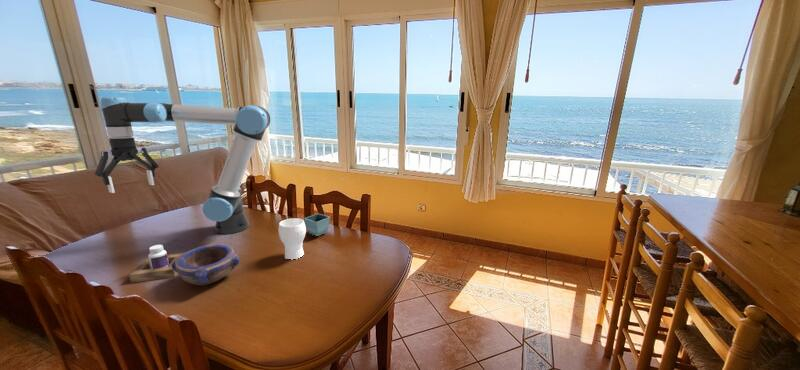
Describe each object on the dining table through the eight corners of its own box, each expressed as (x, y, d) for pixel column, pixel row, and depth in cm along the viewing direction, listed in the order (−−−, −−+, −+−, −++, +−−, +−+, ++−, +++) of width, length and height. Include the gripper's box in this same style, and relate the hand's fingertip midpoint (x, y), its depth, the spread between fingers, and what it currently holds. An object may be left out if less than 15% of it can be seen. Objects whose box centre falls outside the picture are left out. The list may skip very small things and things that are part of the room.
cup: (312, 255, 126) (310, 222, 122) (288, 264, 118) (285, 229, 114) (299, 247, 133) (297, 215, 129) (276, 255, 125) (273, 222, 121)
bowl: (195, 300, 96) (190, 272, 93) (169, 283, 105) (164, 257, 103) (248, 275, 111) (244, 250, 108) (221, 261, 120) (218, 238, 117)
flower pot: (331, 233, 147) (330, 216, 145) (317, 240, 140) (316, 222, 138) (318, 229, 152) (317, 213, 150) (304, 235, 145) (303, 218, 143)
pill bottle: (173, 268, 115) (168, 245, 112) (158, 275, 110) (152, 251, 107) (163, 265, 116) (158, 242, 114) (148, 272, 111) (143, 248, 109)
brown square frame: (186, 259, 121) (185, 253, 120) (174, 276, 109) (173, 269, 108) (147, 264, 117) (146, 257, 116) (130, 282, 105) (129, 275, 104)
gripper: (152, 134, 132) (161, 181, 137) (74, 139, 110) (88, 194, 115) (162, 135, 128) (171, 183, 134) (83, 140, 107) (97, 197, 112)
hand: (132, 188), depth 124 cm, fingers open, 13 cm apart
